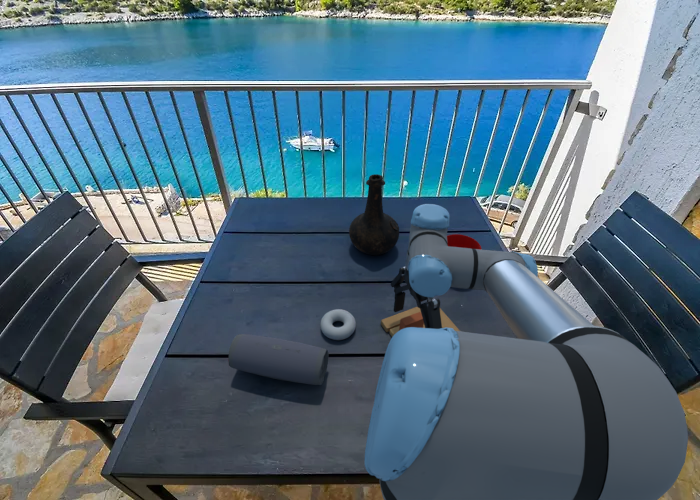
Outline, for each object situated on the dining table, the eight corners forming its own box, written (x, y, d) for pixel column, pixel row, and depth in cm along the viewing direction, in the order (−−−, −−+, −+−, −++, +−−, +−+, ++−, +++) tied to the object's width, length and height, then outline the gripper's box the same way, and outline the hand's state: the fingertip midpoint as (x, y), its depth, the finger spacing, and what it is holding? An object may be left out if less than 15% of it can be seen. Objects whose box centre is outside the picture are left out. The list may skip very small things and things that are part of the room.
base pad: (467, 344, 95) (468, 340, 93) (410, 369, 89) (411, 365, 88) (432, 304, 106) (433, 300, 105) (380, 324, 100) (381, 319, 99)
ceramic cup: (446, 246, 128) (451, 224, 122) (483, 272, 117) (490, 249, 111) (420, 259, 122) (423, 236, 116) (455, 287, 111) (462, 264, 105)
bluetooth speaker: (329, 362, 90) (328, 339, 84) (320, 396, 83) (317, 373, 77) (248, 347, 94) (240, 323, 87) (232, 378, 87) (223, 354, 80)
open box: (429, 345, 94) (434, 324, 89) (404, 355, 92) (407, 335, 86) (413, 324, 100) (417, 303, 95) (389, 333, 97) (391, 312, 92)
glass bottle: (392, 266, 120) (400, 194, 102) (342, 256, 123) (341, 186, 106) (401, 236, 133) (409, 168, 115) (356, 228, 137) (357, 162, 119)
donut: (351, 346, 94) (359, 317, 102) (351, 338, 92) (359, 309, 100) (316, 339, 96) (326, 311, 104) (315, 331, 94) (325, 303, 101)
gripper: (471, 299, 72) (451, 359, 85) (406, 234, 89) (399, 292, 103) (441, 310, 69) (426, 370, 83) (381, 241, 87) (376, 300, 100)
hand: (411, 327), depth 93 cm, fingers open, 13 cm apart
